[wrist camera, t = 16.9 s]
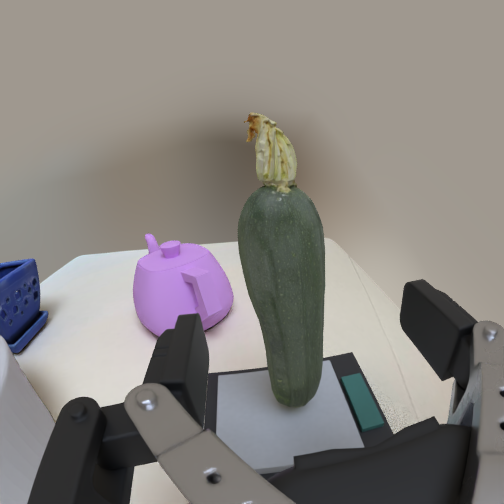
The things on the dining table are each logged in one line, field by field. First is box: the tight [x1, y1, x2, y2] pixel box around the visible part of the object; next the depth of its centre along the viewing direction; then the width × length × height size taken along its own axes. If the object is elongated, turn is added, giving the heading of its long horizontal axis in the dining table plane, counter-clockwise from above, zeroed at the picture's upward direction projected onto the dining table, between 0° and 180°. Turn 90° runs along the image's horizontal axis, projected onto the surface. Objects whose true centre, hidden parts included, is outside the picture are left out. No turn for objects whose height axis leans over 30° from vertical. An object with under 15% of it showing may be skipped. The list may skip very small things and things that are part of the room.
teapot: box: [133, 234, 233, 337], centre depth 40 cm, size 13×20×11 cm, turn 38°
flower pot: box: [0, 259, 48, 353], centre depth 34 cm, size 13×13×12 cm
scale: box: [204, 352, 394, 480], centre depth 20 cm, size 14×13×4 cm
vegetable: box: [238, 113, 325, 407], centre depth 16 cm, size 4×4×20 cm
